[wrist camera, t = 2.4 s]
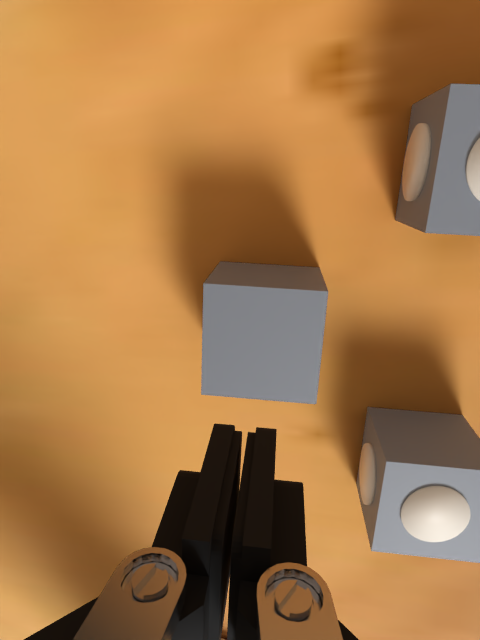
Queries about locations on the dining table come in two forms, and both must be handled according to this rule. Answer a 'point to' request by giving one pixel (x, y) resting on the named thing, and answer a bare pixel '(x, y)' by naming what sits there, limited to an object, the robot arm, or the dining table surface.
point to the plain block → (263, 331)
